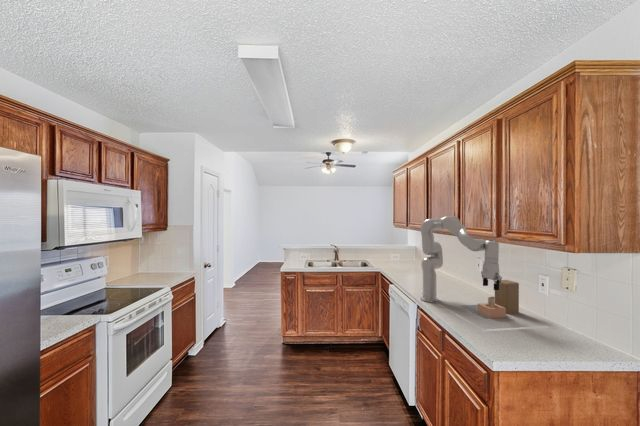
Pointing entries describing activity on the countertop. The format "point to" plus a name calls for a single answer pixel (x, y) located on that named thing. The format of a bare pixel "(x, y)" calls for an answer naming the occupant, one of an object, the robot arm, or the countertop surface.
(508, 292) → the wooden block
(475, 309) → the charcoal mat
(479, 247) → the robot arm
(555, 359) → the countertop surface
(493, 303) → the birch dowel
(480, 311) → the terracotta box
